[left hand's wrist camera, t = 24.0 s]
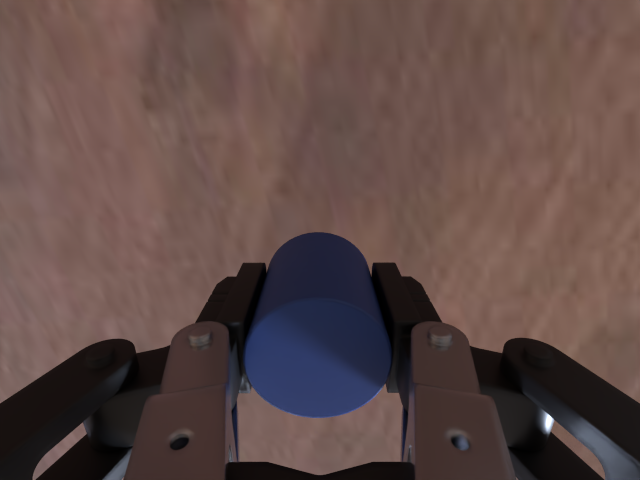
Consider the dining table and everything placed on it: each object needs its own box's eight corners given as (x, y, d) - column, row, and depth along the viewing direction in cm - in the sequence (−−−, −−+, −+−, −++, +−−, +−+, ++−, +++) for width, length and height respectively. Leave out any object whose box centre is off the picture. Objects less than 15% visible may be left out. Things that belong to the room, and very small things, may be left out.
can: (344, 214, 12) (357, 273, 8) (384, 300, 13) (414, 391, 9) (248, 257, 12) (213, 333, 8) (295, 335, 13) (285, 435, 9)
